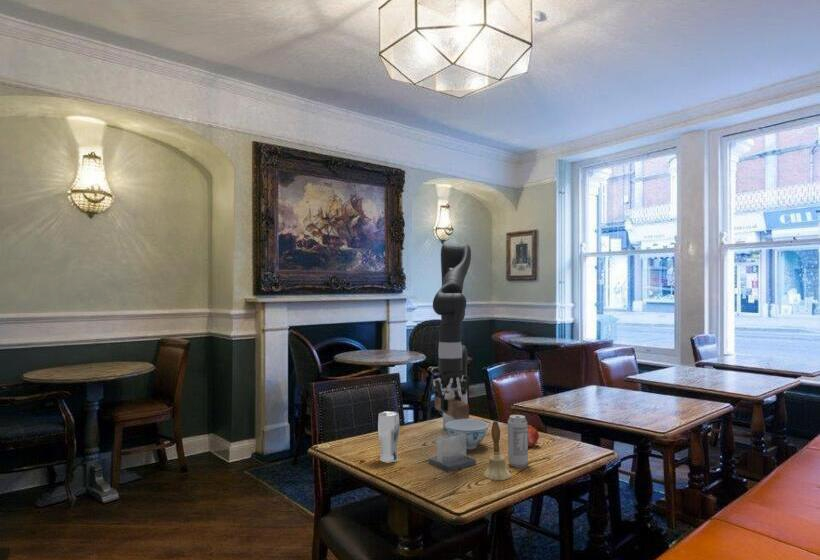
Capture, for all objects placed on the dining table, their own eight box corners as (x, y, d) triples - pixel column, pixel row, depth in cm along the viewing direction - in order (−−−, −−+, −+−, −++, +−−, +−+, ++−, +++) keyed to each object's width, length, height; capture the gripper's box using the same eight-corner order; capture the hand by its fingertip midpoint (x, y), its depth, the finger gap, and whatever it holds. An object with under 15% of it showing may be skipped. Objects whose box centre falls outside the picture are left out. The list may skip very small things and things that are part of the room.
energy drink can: (524, 461, 164) (523, 413, 164) (530, 467, 158) (529, 418, 158) (505, 462, 163) (505, 414, 164) (511, 468, 157) (511, 419, 158)
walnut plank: (434, 408, 169) (434, 396, 169) (445, 407, 171) (445, 395, 171) (457, 419, 154) (457, 406, 154) (469, 418, 156) (468, 404, 156)
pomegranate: (520, 448, 185) (509, 436, 179) (528, 430, 188) (517, 417, 182) (538, 454, 180) (527, 442, 174) (546, 436, 183) (535, 423, 177)
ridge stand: (428, 463, 163) (428, 434, 163) (455, 456, 169) (454, 429, 169) (448, 471, 155) (448, 441, 155) (475, 464, 161) (475, 435, 161)
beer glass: (389, 455, 171) (389, 410, 171) (404, 460, 166) (403, 413, 166) (373, 460, 166) (373, 413, 167) (388, 465, 161) (387, 417, 162)
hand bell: (492, 482, 146) (492, 426, 146) (477, 473, 154) (476, 419, 154) (517, 477, 149) (516, 422, 150) (501, 469, 157) (500, 416, 157)
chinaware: (497, 447, 179) (497, 425, 179) (466, 456, 170) (465, 432, 170) (467, 438, 191) (467, 417, 191) (436, 445, 182) (436, 423, 182)
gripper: (459, 353, 170) (460, 404, 170) (425, 356, 162) (425, 411, 161) (475, 355, 164) (475, 408, 164) (440, 359, 156) (440, 415, 155)
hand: (451, 409), depth 163 cm, fingers closed on walnut plank, 4 cm apart
